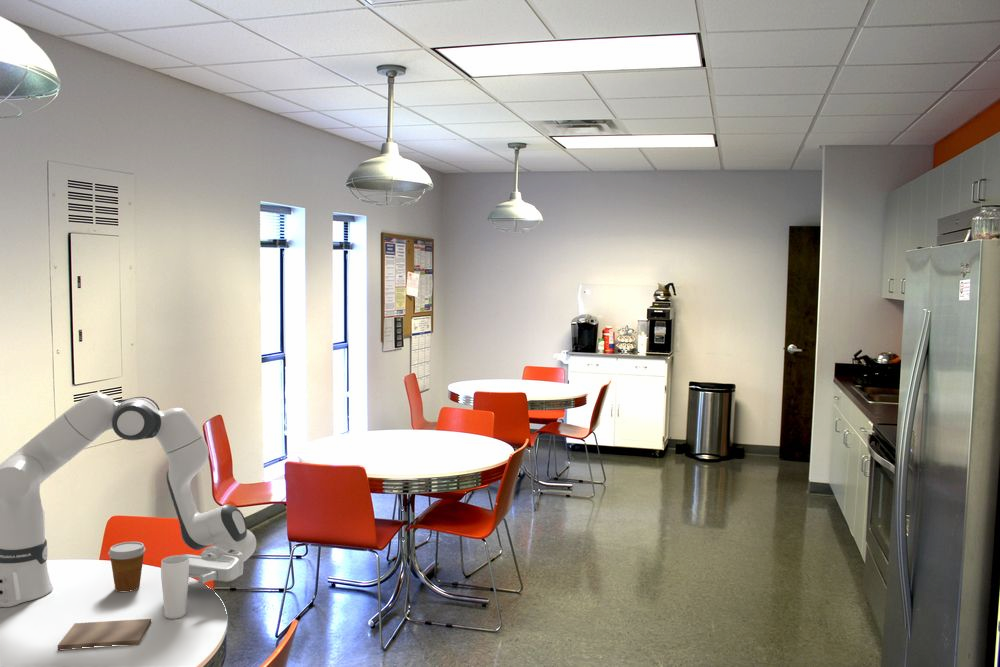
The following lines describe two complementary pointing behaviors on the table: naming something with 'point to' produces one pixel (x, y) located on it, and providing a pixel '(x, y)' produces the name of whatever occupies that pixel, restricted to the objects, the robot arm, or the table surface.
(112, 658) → the table surface
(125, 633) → the walnut board
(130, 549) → the disposable coffee cup
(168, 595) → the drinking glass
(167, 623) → the table surface
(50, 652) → the table surface
